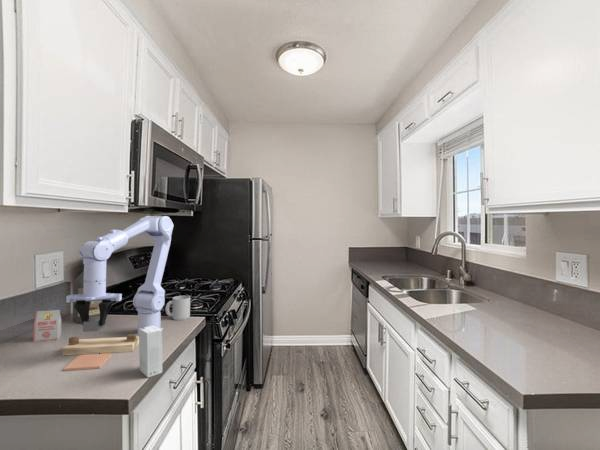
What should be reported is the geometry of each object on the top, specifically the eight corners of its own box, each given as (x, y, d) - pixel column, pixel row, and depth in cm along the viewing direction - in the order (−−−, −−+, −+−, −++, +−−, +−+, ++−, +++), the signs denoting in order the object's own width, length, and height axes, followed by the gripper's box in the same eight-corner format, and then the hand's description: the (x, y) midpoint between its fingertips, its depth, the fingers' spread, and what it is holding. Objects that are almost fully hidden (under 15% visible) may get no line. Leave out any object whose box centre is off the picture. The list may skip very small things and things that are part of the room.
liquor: (71, 320, 129) (72, 248, 129) (95, 315, 136) (96, 247, 136) (79, 324, 123) (80, 249, 123) (104, 319, 131) (105, 248, 131)
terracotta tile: (79, 356, 95) (79, 355, 95) (111, 354, 97) (111, 353, 97) (63, 370, 86) (63, 368, 86) (99, 368, 88) (99, 366, 88)
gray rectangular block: (90, 326, 97) (90, 316, 97) (104, 325, 98) (105, 316, 98) (82, 331, 92) (83, 321, 92) (97, 331, 93) (98, 321, 93)
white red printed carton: (38, 338, 109) (38, 310, 109) (61, 336, 111) (61, 308, 111) (33, 342, 106) (33, 312, 105) (57, 339, 108) (57, 311, 108)
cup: (191, 319, 134) (191, 298, 134) (166, 322, 129) (166, 300, 129) (188, 314, 140) (188, 294, 140) (164, 317, 135) (164, 297, 135)
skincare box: (163, 373, 86) (163, 329, 86) (146, 378, 83) (147, 333, 83) (154, 365, 90) (154, 324, 90) (137, 370, 87) (138, 327, 87)
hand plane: (74, 346, 103) (74, 334, 103) (139, 342, 107) (139, 331, 107) (62, 355, 96) (62, 342, 96) (132, 351, 100) (132, 339, 100)
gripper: (60, 283, 89) (59, 330, 89) (116, 282, 92) (115, 328, 92) (73, 279, 96) (72, 322, 96) (124, 278, 99) (123, 320, 99)
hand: (94, 324), depth 95 cm, fingers closed on gray rectangular block, 4 cm apart
